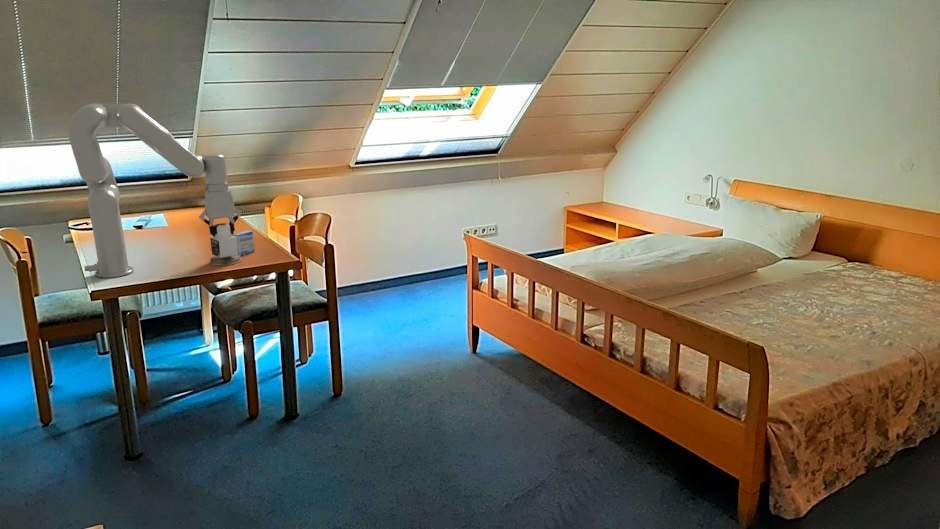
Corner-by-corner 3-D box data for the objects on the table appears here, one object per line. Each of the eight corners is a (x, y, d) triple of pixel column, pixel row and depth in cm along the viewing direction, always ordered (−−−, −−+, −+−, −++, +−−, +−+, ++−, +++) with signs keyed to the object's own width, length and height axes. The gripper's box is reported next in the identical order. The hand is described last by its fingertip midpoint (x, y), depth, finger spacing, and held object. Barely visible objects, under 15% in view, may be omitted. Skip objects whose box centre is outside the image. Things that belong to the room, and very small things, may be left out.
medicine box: (240, 256, 275) (238, 235, 273) (232, 255, 277) (230, 233, 275) (255, 251, 282) (253, 231, 279) (247, 250, 284) (245, 230, 281)
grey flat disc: (213, 267, 260) (212, 263, 259) (207, 260, 269) (206, 256, 269) (244, 262, 266) (244, 258, 265) (237, 256, 275) (237, 252, 275)
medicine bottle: (211, 255, 267) (208, 224, 264) (229, 251, 272) (226, 221, 268) (220, 258, 262) (216, 227, 259) (238, 254, 267) (234, 224, 263)
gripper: (195, 191, 252) (200, 239, 257) (243, 186, 261) (248, 233, 266) (191, 188, 259) (196, 235, 263) (238, 184, 267) (243, 230, 272)
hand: (222, 234), depth 265 cm, fingers closed on medicine bottle, 6 cm apart
